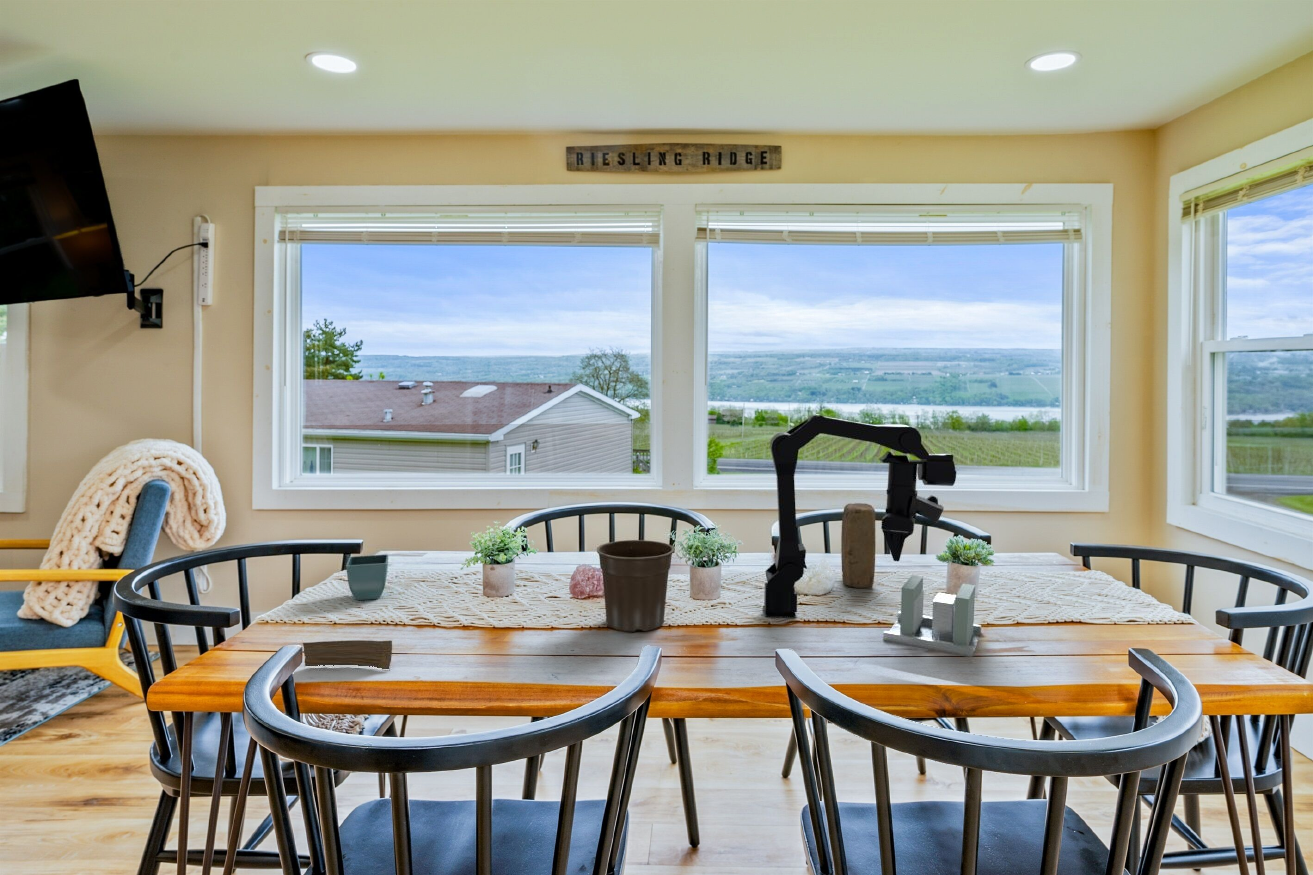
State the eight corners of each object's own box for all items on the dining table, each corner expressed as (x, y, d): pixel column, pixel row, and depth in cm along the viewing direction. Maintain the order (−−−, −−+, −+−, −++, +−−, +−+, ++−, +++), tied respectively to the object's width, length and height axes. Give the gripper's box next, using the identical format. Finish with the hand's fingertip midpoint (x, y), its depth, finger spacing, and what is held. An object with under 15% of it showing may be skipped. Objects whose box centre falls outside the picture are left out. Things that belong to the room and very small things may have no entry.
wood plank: (301, 672, 126) (300, 644, 125) (306, 667, 128) (305, 640, 127) (389, 671, 126) (388, 644, 126) (393, 666, 128) (392, 639, 128)
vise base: (882, 645, 138) (882, 632, 138) (898, 622, 151) (899, 610, 151) (971, 662, 130) (972, 649, 130) (981, 636, 143) (981, 624, 143)
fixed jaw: (952, 648, 134) (954, 596, 133) (959, 632, 143) (961, 583, 142) (966, 651, 133) (968, 599, 132) (973, 634, 142) (975, 585, 141)
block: (875, 590, 174) (878, 509, 172) (844, 589, 175) (846, 508, 173) (868, 577, 184) (870, 501, 183) (838, 576, 185) (840, 500, 184)
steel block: (931, 641, 138) (933, 600, 137) (936, 631, 143) (938, 592, 143) (950, 644, 136) (952, 603, 136) (955, 634, 141) (957, 595, 141)
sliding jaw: (899, 637, 139) (901, 587, 138) (910, 622, 148) (911, 575, 147) (913, 640, 138) (915, 589, 137) (922, 624, 146) (924, 576, 146)
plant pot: (620, 605, 162) (620, 535, 160) (685, 616, 155) (686, 543, 153) (582, 628, 147) (581, 552, 146) (652, 641, 140) (652, 561, 139)
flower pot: (389, 589, 173) (388, 553, 172) (388, 600, 165) (387, 562, 164) (350, 593, 170) (349, 556, 170) (347, 604, 162) (345, 565, 161)
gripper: (942, 494, 140) (937, 571, 142) (942, 481, 158) (938, 550, 159) (883, 489, 144) (879, 564, 146) (889, 477, 162) (885, 544, 163)
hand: (897, 555), depth 153 cm, fingers open, 9 cm apart
